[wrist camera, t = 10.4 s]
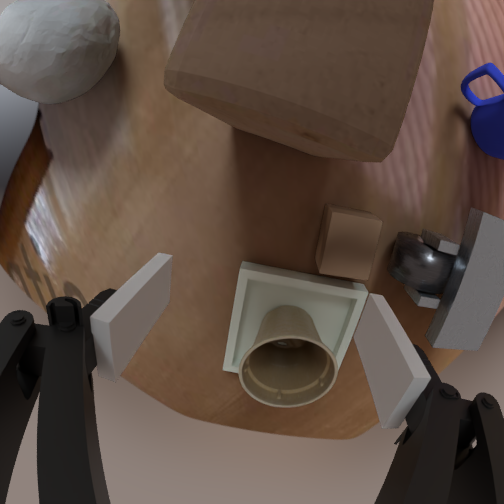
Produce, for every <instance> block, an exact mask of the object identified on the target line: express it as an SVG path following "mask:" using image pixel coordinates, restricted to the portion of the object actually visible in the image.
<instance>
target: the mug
mask: <svg viewBox="0 0 504 504" xmlns="http://www.w3.org/2000/svg"><path fill="white" fill-rule="evenodd" d="M483 75H489V76H490V77H491V78H492V79H493V80H494V81H495V82H496V83H497V84H498V86H499V87H500V88H501V89H502V91H503V92H504V75H503V74H502V73H501V72H500V70H499V69H498V68H497V67H496V66H495V65H494V64H492V63H487V64H485V65H483V66H481V67H479V68H477V69H475V70H474V71H472V72H470V73H469V74H468V75H467V76H466V77H465V78H464V80H463V81H462V84H461V91H462V93H463V95H464V96H465V97H466V99H467V100H468V101H469V102H471V103H472V104H473V105H475V106H476V107H475V108H474V110H473V112H472V115H471V130H472V134H473V137H474V139H475V141H476V143H477V145H478V146H479V147H480V148H481V150H483V151H484V152H485V153H486V154H488V155H490V156H492V157H496V158H499V159H503V160H504V94H502V95H499V96H495V97H492V98H489V99H486V100H480V99H479V98H477V97H476V96H475V95H474V94H473V93H472V91H471V90H470V88H469V86H468V84H469V83H470V82H471V81H472V80H474V79H476V78H478V77H481V76H483Z"/></svg>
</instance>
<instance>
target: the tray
mask: <svg viewBox="0 0 504 504" xmlns="http://www.w3.org/2000/svg"><path fill="white" fill-rule="evenodd" d="M368 293H369V292H368V291H367V289H366V287H365V285H364V284H361V283H355V282H350V281H345V280H339V279H334V278H329V277H324V276H318V275H313V274H308V273H303V272H297V271H292V270H287V269H282V268H277V267H271V266H266V265H261V264H256V263H251V262H246V261H242V263H241V266H240V270H239V276H238V282H237V288H236V293H235V299H234V305H233V311H232V317H231V323H230V329H229V335H228V341H227V347H226V353H225V359H224V365H223V370H224V371H229V372H234V373H239V365H240V362H241V359H242V357H243V356H244V354H245V353H246V352H247V351H248V350H249V349H250V348H251V347H252V345H253V344H254V342H255V339H256V336H257V334H258V331H259V328H260V326H261V322H262V320H263V318H264V317H265V315H266V314H267V313H268V312H270V311H272V310H274V309H276V308H278V307H280V306H284V305H291V306H297V307H299V308H302V309H304V310H305V311H306V312H307V313H308V314H309V315H310V316H311V318H312V319H313V322H314V325H315V327H316V330H317V332H318V334H319V336H320V339H321V341H322V342H323V343H324V344H325V345H326V346H327V347H328V348H329V349H330V350H331V351H332V353H333V354H334V356H335V358H336V361H337V364H338V370H339V367H340V365H341V363H342V360H343V358H344V356H345V353H346V351H347V348H348V346H349V343H350V341H351V338H352V336H353V333H354V331H355V328H356V326H357V323H358V320H359V318H360V315H361V312H362V310H363V307H364V304H365V301H366V298H367V295H368ZM278 344H281V345H286V343H283V342H278Z"/></svg>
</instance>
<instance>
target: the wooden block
mask: <svg viewBox="0 0 504 504" xmlns="http://www.w3.org/2000/svg"><path fill="white" fill-rule="evenodd" d="M433 1H434V0H195V2H194V4H193V6H192V8H191V10H190V12H189V14H188V16H187V18H186V20H185V23H184V25H183V27H182V29H181V31H180V34H179V36H178V38H177V41H176V43H175V45H174V48H173V50H172V53H171V55H170V58H169V60H168V63H167V65H166V68H165V74H164V86H165V89H167V90H168V91H169V92H171V93H172V94H173V95H174V96H176V97H177V98H179V99H181V100H183V101H185V102H187V103H189V104H191V105H193V106H195V107H197V108H199V109H201V110H203V111H205V112H206V113H208V114H210V115H212V116H214V117H216V118H218V119H220V120H222V121H223V122H225V123H227V124H229V125H231V126H233V127H234V128H236V129H239V130H242V131H245V132H248V133H251V134H254V135H257V136H260V137H263V138H266V139H269V140H272V141H275V142H278V143H280V144H283V145H286V146H289V147H291V148H294V149H297V150H299V151H302V152H305V153H307V154H310V155H312V156H317V157H327V158H336V159H345V160H353V161H361V162H382V161H383V160H384V159H385V158H386V157H387V156H388V155H389V153H390V152H391V151H392V150H393V148H394V145H395V142H396V139H397V136H398V134H399V131H400V128H401V125H402V122H403V119H404V116H405V112H406V109H407V106H408V103H409V100H410V96H411V93H412V90H413V86H414V83H415V80H416V76H417V72H418V69H419V65H420V61H421V58H422V54H423V50H424V46H425V42H426V38H427V33H428V29H429V25H430V20H431V15H432V10H433Z"/></svg>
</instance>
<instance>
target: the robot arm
mask: <svg viewBox="0 0 504 504" xmlns="http://www.w3.org/2000/svg"><path fill="white" fill-rule="evenodd" d="M172 257H173V255H169V254H164V253H158V254H156V255H155V256H154V257H153V258H152V259H151V260H150V261H149V262H148V263H146V264H145V265H144V266H143V267H142V268H141V269H140V270H139V271H138V272H137V273H136V274H134V275H133V276H132V277H131V278H130V279H129V280H128V281H127V282H126V283H125V284H124V285H123V286H122V287H120V288H119V289H118V290H114V289H111V288H110V289H107V290H105V291H102V292H100V293H99V294H98V295H97V296H96V297H95V298H94V299H92V300H91V301H90V302H89V304H87V305H86V306H85V307H83V308H81V303H80V302H79V301H78V300H77V299H75V298H73V297H66V296H65V297H58V298H55V299H52V300H51V301H49V302H48V304H47V305H46V309H47V314H48V320H49V325H50V326H48V325H41V324H35V323H34V319H33V315H32V314H31V313H30V312H27V311H23V310H17V311H13V312H11V313H9V314H8V315H7V316H5V318H4V319H3V320H2V322H1V323H0V504H5V502H6V497H7V492H8V488H9V484H10V480H11V476H12V472H13V468H14V465H15V461H16V458H17V454H18V451H19V448H20V444H21V441H22V438H23V435H24V432H25V429H26V426H27V424H28V421H29V418H30V415H31V412H32V410H33V407H34V404H35V402H36V399H37V397H38V394H39V392H40V396H39V408H38V426H37V474H38V491H39V504H110V500H109V495H108V490H107V486H106V481H105V476H104V471H103V465H102V459H101V453H100V447H99V440H98V432H97V424H96V414H95V404H94V390H93V378H92V373H91V372H92V371H93V369H94V368H95V367H96V366H97V370H98V375H99V376H100V377H102V378H105V379H108V380H111V381H113V382H116V381H117V380H118V378H119V377H120V375H121V374H122V372H123V371H124V369H125V368H126V366H127V365H128V363H129V362H130V360H131V358H132V357H133V355H134V354H135V352H136V351H137V349H138V348H139V346H140V345H141V343H142V342H143V340H144V339H145V337H146V336H147V335H148V333H149V332H150V330H151V329H152V327H153V326H154V324H155V323H156V321H157V320H158V318H159V317H160V315H161V314H162V312H163V311H164V310H165V308H166V307H167V305H168V304H169V301H170V284H171V270H172ZM354 340H355V343H356V346H357V349H358V352H359V355H360V358H361V361H362V364H363V367H364V370H365V374H366V377H367V380H368V383H369V386H370V390H371V393H372V396H373V400H374V403H375V406H376V410H377V413H378V417H379V420H380V424H381V427H382V428H398V427H399V426H400V425H401V423H402V422H403V421H404V419H406V422H407V425H408V426H407V427H406V429H405V430H404V431H403V433H402V434H401V435H400V436H399V438H398V439H397V440H396V442H395V443H394V444H397V443H398V442H399V441H400V442H399V445H398V448H397V451H396V454H395V457H394V459H393V462H392V464H391V467H390V469H389V472H388V474H387V476H386V479H385V482H384V484H383V486H382V488H381V490H380V493H379V495H378V497H377V499H376V502H375V504H504V418H503V415H502V412H501V409H500V406H499V404H498V402H497V400H496V399H495V398H494V397H493V396H491V395H490V394H487V393H479V394H477V395H476V397H475V398H474V400H473V401H469V400H465V399H461V396H460V393H459V392H458V390H457V389H455V388H454V387H453V386H451V385H449V384H446V383H442V382H441V380H440V378H439V377H438V375H437V373H436V371H435V370H434V368H433V366H431V363H430V361H429V360H428V358H427V356H426V354H425V353H424V351H423V350H422V349H421V348H420V347H418V346H417V345H415V344H412V343H411V341H410V339H409V338H408V336H407V334H406V333H405V331H404V329H403V328H402V326H401V324H400V323H399V321H398V319H397V318H396V316H395V314H394V313H393V311H392V310H391V308H390V306H389V305H388V303H387V301H386V300H385V298H384V297H383V295H378V294H372V293H370V294H369V297H368V300H367V303H366V305H365V308H364V311H363V314H362V316H361V319H360V322H359V324H358V327H357V329H356V332H355V334H354ZM475 439H476V440H477V445H476V446H475V448H473V447H472V443H473V442H474V441H475Z"/></svg>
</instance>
